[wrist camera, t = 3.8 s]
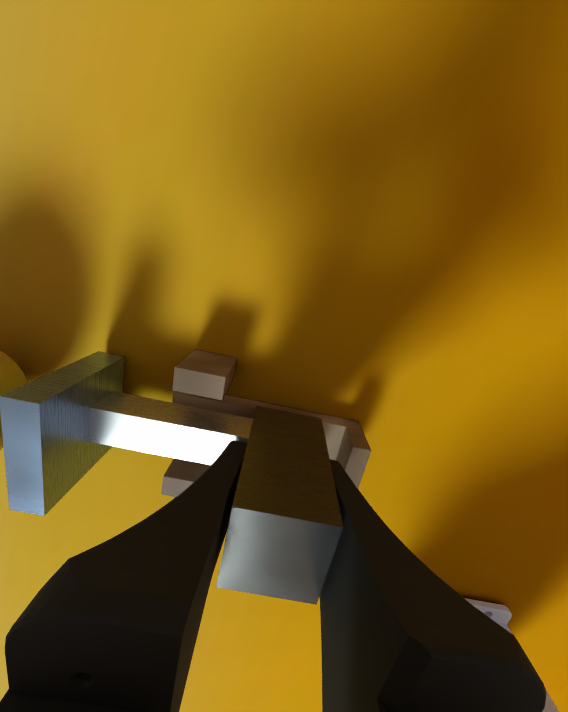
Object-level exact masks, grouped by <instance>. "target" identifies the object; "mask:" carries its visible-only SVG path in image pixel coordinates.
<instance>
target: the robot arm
mask: <svg viewBox="0 0 568 712" xmlns="http://www.w3.org/2000/svg"><path fill="white" fill-rule="evenodd" d="M246 447H247V443H244V442H239V441H234V440H232V441H230V442H229V444H228V445H227V447H226V448H225V449H224V451H223V452H222V453H221V454H220V456H219V457H218V458H217V459H216V460H215V461H214V462H213V463H212V465H211V466H210V467H209V468H208V469H207V470H206V471H205V472H204V473H203V474H202V475H201V476H200V477H199V478H198V479H196V480H195V481H194V482H193V483H192V484H191V485H190V486H189V487H188V488H187V489H185V490H184V491H183V492H182V493H181V494H179V495H178V496H177V497H175V498H174V499H173V500H172V501H170V502H169V503H168V504H166V505H165V506H163V507H162V508H161V509H159V510H158V511H156V512H155V513H153V514H152V515H150V516H149V517H147V518H146V519H144V520H143V521H141V522H139V523H138V524H136V525H134V526H132V527H131V528H129V529H127V530H125V531H124V532H122V533H120V534H119V535H117V536H115V537H113V538H111V539H109V540H108V541H106V542H103V543H101V544H99V545H97V546H95V547H93V548H91V549H89V550H87V551H85V552H82V553H80V554H78V555H76V556H74V557H71V558H69V559H68V560H67V561H66V562H65V563H64V564H63V565H62V567H61V568H60V569H59V570H58V571H57V572H56V573H55V574H54V575H53V576H52V577H51V578H50V579H49V581H48V582H47V583H46V584H45V585H44V586H43V587H42V588H41V590H40V591H39V592H38V593H37V595H36V596H35V597H34V599H33V600H32V601H31V602H30V604H29V605H28V606H27V608H26V609H25V610H24V612H23V613H22V614H21V616H20V617H19V618H18V619H17V621H16V622H15V623H14V625H13V626H12V628H11V629H10V631H9V632H8V634H7V636H6V641H5V656H6V665H7V674H8V683H9V689H8V691H7V693H6V694H5V696H4V697H3V699H2V700H1V702H0V712H179V709H180V705H181V701H182V697H183V693H184V688H185V684H186V680H187V676H188V672H189V668H190V664H191V659H192V655H193V651H194V647H195V643H196V639H197V635H198V631H199V626H200V622H201V618H202V614H203V610H204V606H205V602H206V598H207V594H208V590H209V586H210V582H211V578H212V575H213V572H214V568H215V565H216V562H217V559H218V556H219V553H220V550H221V547H222V544H223V541H224V538H225V535H226V532H227V529H228V525H229V519H230V514H231V509H232V505H233V501H234V496H235V492H236V488H237V484H238V480H239V476H240V472H241V467H242V463H243V459H244V455H245V451H246ZM330 464H331V469H332V474H333V479H334V484H335V489H336V494H337V499H338V503H339V508H340V513H341V518H342V523H343V530H342V532H341V535H340V538H339V541H338V544H337V547H336V550H335V552H334V555H333V558H332V561H331V564H330V567H329V570H328V573H327V575H326V578H325V581H324V584H323V587H322V590H321V593H320V611H321V641H322V705H323V712H559V711H558V709H557V707H556V706H555V704H554V702H553V701H552V699H551V697H550V696H549V694H548V692H547V691H546V689H545V687H544V684H543V682H542V681H541V679H540V677H539V676H538V674H537V672H536V671H535V669H534V667H533V666H532V664H531V662H530V661H529V659H528V657H527V656H526V654H525V652H524V651H523V649H522V647H521V646H520V644H519V642H518V641H517V639H516V638H515V636H514V635H513V634H512V632H511V631H510V629H509V627H508V626H507V624H508V622H509V621H510V619H511V617H512V614H511V612H510V610H509V609H508V607H507V606H504V605H501V604H495V603H489V602H484V601H478V600H472V599H467V598H463V597H462V596H461V595H459V594H458V593H457V592H456V591H454V590H453V589H452V588H451V587H449V586H448V585H447V584H446V583H445V582H444V581H442V580H441V579H440V578H439V577H438V576H437V575H435V574H434V573H433V572H432V571H431V570H430V569H429V568H428V567H427V566H426V565H425V564H424V563H422V562H421V561H420V560H419V559H418V558H417V557H416V556H415V555H414V554H413V553H412V552H411V551H410V550H409V549H408V548H407V547H406V546H405V545H404V544H403V543H402V542H401V541H400V540H399V539H398V538H397V537H396V535H395V534H394V533H393V532H392V531H391V530H390V529H389V528H388V527H387V526H386V524H385V523H384V522H383V521H382V520H381V518H380V517H379V516H378V515H377V513H376V512H375V511H374V510H373V509H372V507H371V506H370V505H369V503H368V502H367V501H366V499H365V498H364V497H363V495H362V494H361V493H360V491H359V490H358V488H357V487H356V486H355V484H354V483H353V481H352V480H351V478H350V477H349V476H348V474H347V473H346V471H345V470H344V468H343V467H342V465H341V464H340V463H339V461H336V460H331V459H330Z"/></svg>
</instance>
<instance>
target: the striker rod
mask: <svg viewBox="0 0 568 712" xmlns="http://www.w3.org/2000/svg"><path fill="white" fill-rule="evenodd" d="M123 377H124V356H119V355H114V354H109V353H104V352H99V351H98V352H96V353H94V354H91V355H89V356H87V357H85V358H82V359H80V360H78V361H76V362H74V363H71V364H69V365H67V366H65V367H63V368H60V369H58V370H56V371H54V372H51V373H49V374H47V375H45V376H43V377H40V378H38V379H36V380H34V381H32V382H29V383H27V384H25V385H23V386H21V387H18V388H16V389H14V390H12V391H9V392H7V393H5V394H3V395H1V396H0V412H1V423H2V434H3V445H4V456H5V467H6V478H7V489H8V500H9V510H15V511H20V512H26V513H32V514H37V515H43V516H45V515H46V514H47V513H48V512H49V511H50V510H51V508H52V507H53V506H54V505H55V504H56V503H57V502H58V501H59V500H60V499H61V498H62V497H63V496H64V495H65V494H66V493H67V492H68V491H69V490H70V489H71V488H72V487H73V486H74V485H75V484H76V483H77V482H78V481H79V480H80V479H81V478H82V477H83V476H84V475H85V474H86V473H87V472H88V471H89V470H90V469H91V468H92V467H93V466H94V465H95V464H96V463H97V462H98V461H99V459H100V458H101V457H102V456H103V455H104V454H105V453H106V452H107V451H108V450H109V449H110V448H111V447H112V446H114V447H119V448H124V449H129V450H135V451H140V452H145V453H150V454H156V455H161V456H166V457H172V458H177V459H182V460H187V461H193V462H198V463H203V464H208V465H212V463H213V462H214V461H215V460H216V459H217V458H218V457H219V456H220V454H221V453H222V452H223V451H224V449H225V448H226V447H227V445H228V444H229V442H230V441H232V440H234V441H239V442H244V443H247V447H246V451H245V455H244V459H243V463H242V467H241V472H240V476H239V480H238V484H237V488H236V492H235V496H234V501H233V505H232V509H231V514H230V519H229V525H228V530H227V535H226V540H225V545H224V550H223V555H222V560H221V565H220V570H219V575H218V581H217V586H216V587H218V588H224V589H230V590H235V591H241V592H247V593H253V594H259V595H264V596H270V597H276V598H282V599H288V600H293V601H299V602H305V603H311V604H317V601H318V598H319V596H320V593H321V590H322V587H323V584H324V581H325V578H326V575H327V573H328V570H329V567H330V564H331V561H332V558H333V555H334V552H335V550H336V547H337V544H338V541H339V538H340V535H341V532H342V530H343V523H342V518H341V513H340V508H339V503H338V499H337V494H336V489H335V484H334V479H333V474H332V469H331V464H330V459H329V454H328V449H327V444H326V439H325V434H324V429H323V424H322V419H321V418H318V417H313V416H308V415H303V414H298V413H293V412H288V411H283V410H278V409H272V408H267V407H262V406H257V405H256V410H255V414H254V418H253V419H252V418H247V417H242V416H237V415H232V414H227V413H222V412H217V411H211V410H206V409H201V408H196V407H191V406H186V405H181V404H176V403H171V402H166V401H161V400H156V399H151V398H146V397H141V396H135V395H130V394H125V393H123Z"/></svg>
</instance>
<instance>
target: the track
mask: <svg viewBox="0 0 568 712" xmlns="http://www.w3.org/2000/svg"><path fill="white" fill-rule="evenodd" d="M236 360H237V358H235V357H230V356H225V355H220V354H215V353H210V352H205V351H201V350H196V349H195V350H193V351H192V352H191V353H190V354H189V355H188V356H187V357H186V358H184V359H183V360H182V361H181V362H180V363H179V364H178V365H177V366H175V369H174V379H173V388H172V390H173V391H175V392H174V394H173V403H176V404H181V405H186V406H191V407H196V408H201V409H206V410H211V411H217V412H222V413H227V414H232V415H237V416H242V417H247V418H252V419H253V418H254V414H255V410H256V405H257V406H262V407H267V408H272V409H278V410H283V411H288V412H293V413H298V414H303V415H308V416H313V417H318V418H321V419H322V424H323V429H324V434H325V439H326V444H327V449H328V454H329V459H331V460H336V461H339V463H340V464H341V465H342V467H343V468H344V470H345V471H346V473H347V474H348V476H349V477H350V478H351V480H352V481H353V483H354V484H355V486H356V487H357V488H358V487H359V484H360V481H361V478H362V475H363V472H364V470H365V467H366V464H367V461H368V458H369V455H370V452H371V449H370V447H369V444H368V442H367V440H366V437H365V435H364V433H363V430H362V428H361V426H360V424H359V421H354V420H349V419H344V418H339V417H334V416H329V415H324V414H319V413H314V412H309V411H304V410H299V409H294V408H289V407H284V406H279V405H274V404H269V403H264V402H259V401H254V400H249V399H244V398H239V397H234V396H229V395H225V393H226V391H227V389H228V387H229V385H230V384H231V382H232V380H233V378H234V372H235V366H236ZM210 466H211V465H208V464H203V463H198V462H193V461H187V460H182V459H177V458H174V459H173V461H172V463H171V464H170V466H169V468H168V469H167V471H166V473H165V474H164V476H163V485H162V495H168V496H173V497H177V496H178V495H179V494H181V493H182V492H183V491H184V490H185V489H187V488H188V487H189V486H190V485H191V484H192V483H193V482H194V481H195V480H196V479H198V478H199V477H200V476H201V475H202V474H203V473H204V472H205V471H206V470H207V469H208V468H209V467H210Z"/></svg>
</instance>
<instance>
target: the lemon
mask: <svg viewBox="0 0 568 712" xmlns="http://www.w3.org/2000/svg"><path fill="white" fill-rule="evenodd" d="M27 383H28V381H27V379H26V377H25V375H24V373H23V371H22V370H21V369H20V367H19V366H18V365H17V364H16V363H15V362H14V361H13V360H12V359H11V358H10V357H9V356H7V355H6V354H5V353H3V352H1V351H0V396H1V395H3V394H5V393H7V392H9V391H12V390H14V389H16V388H18V387H21V386H23V385H25V384H27ZM3 447H4V445H3V434H2V423H1V412H0V450H1V449H2V448H3Z"/></svg>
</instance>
